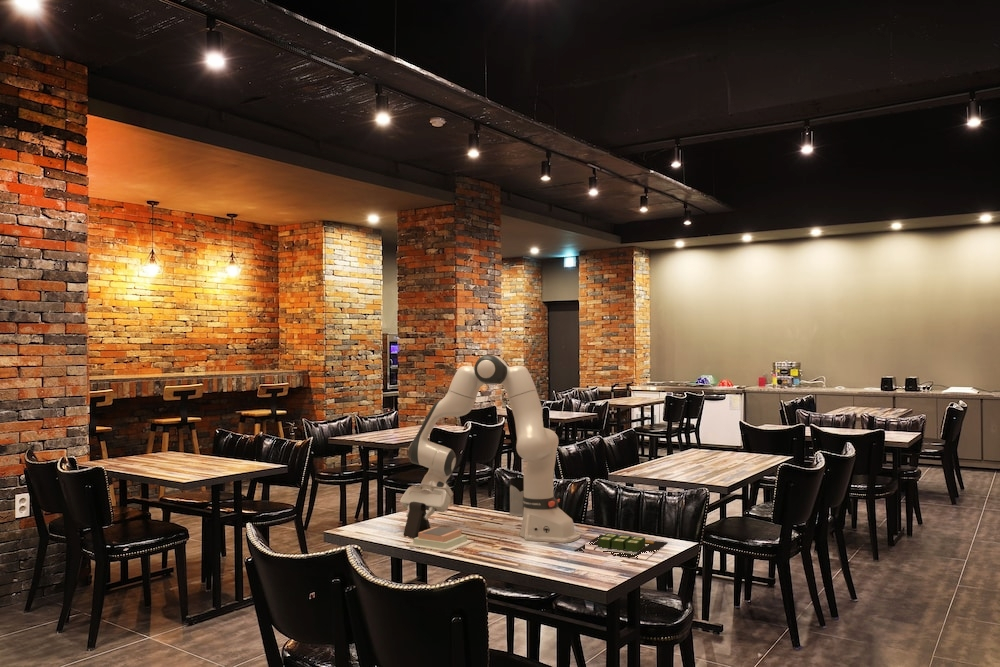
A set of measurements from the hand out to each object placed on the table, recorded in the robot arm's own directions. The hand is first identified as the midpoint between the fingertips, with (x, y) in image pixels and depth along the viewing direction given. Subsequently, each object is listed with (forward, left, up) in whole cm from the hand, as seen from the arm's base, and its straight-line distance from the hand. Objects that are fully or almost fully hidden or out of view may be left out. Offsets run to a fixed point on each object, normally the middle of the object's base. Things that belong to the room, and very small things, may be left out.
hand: (416, 517), depth 275 cm
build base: (-15, +6, -6) cm, 17 cm away
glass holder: (-18, -52, -7) cm, 55 cm away
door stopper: (0, -1, -7) cm, 7 cm away
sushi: (-73, -20, -7) cm, 76 cm away
